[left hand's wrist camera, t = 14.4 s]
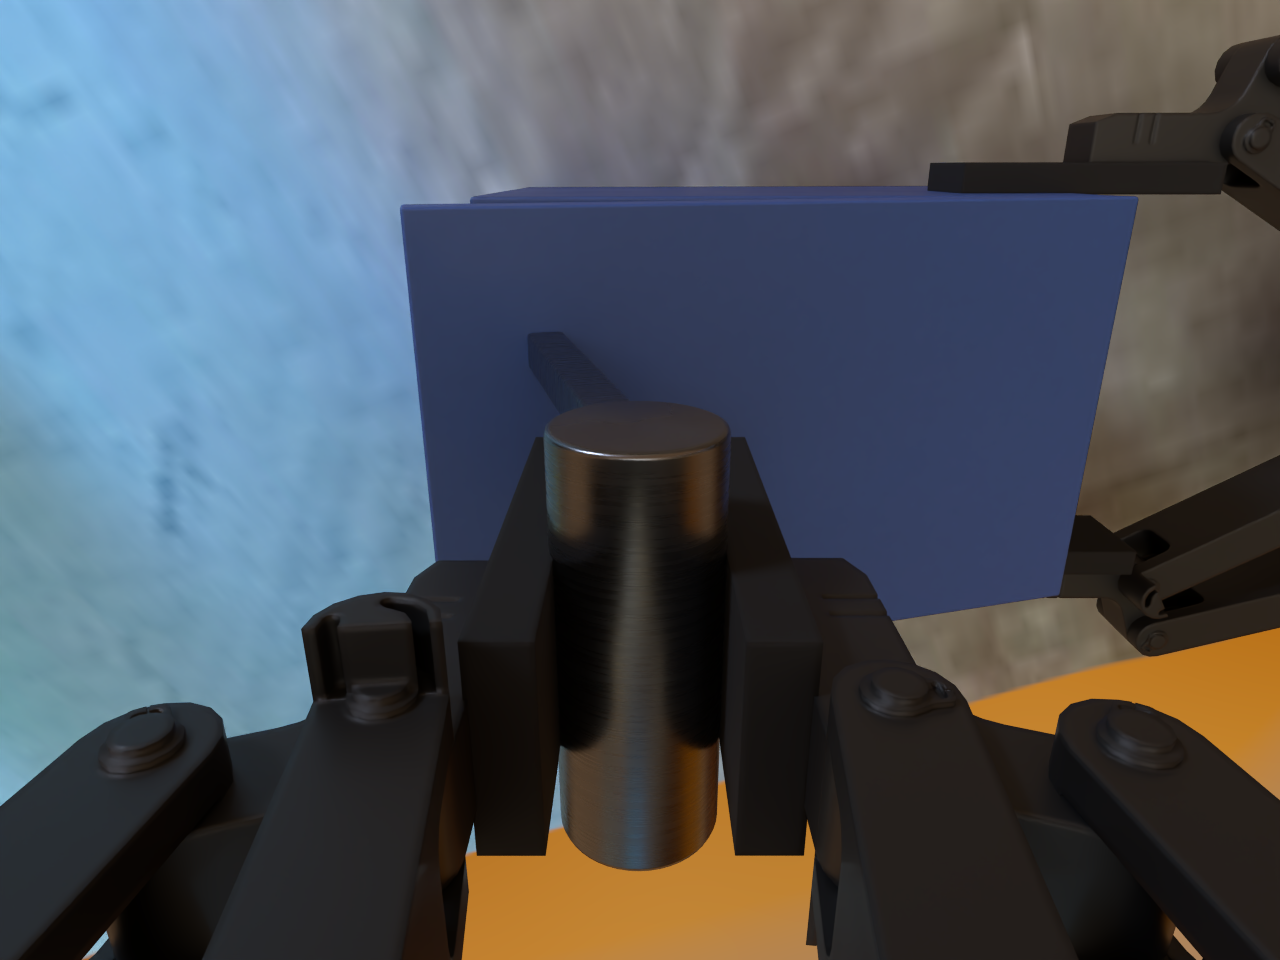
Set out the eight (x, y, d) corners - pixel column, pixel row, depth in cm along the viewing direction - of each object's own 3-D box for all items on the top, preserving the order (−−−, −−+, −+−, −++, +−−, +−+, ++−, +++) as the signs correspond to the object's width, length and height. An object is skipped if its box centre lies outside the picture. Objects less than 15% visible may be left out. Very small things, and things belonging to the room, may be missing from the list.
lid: (445, 660, 19) (480, 1037, 11) (399, 204, 16) (398, 246, 7) (1028, 574, 23) (1382, 804, 15) (1097, 194, 19) (1617, 214, 11)
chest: (540, 457, 32) (496, 572, 23) (526, 187, 29) (468, 196, 20) (922, 457, 32) (1033, 573, 23) (956, 186, 29) (1103, 194, 19)
